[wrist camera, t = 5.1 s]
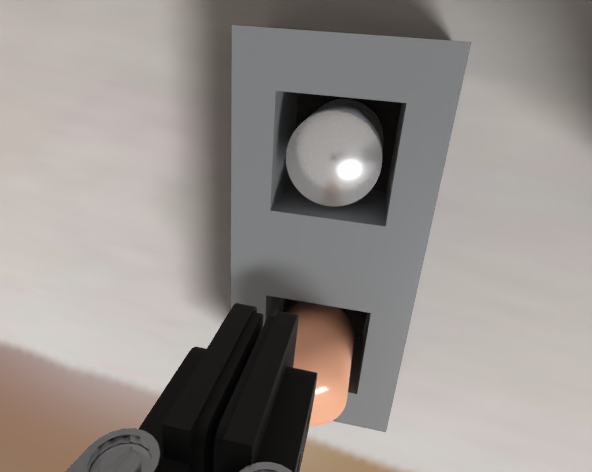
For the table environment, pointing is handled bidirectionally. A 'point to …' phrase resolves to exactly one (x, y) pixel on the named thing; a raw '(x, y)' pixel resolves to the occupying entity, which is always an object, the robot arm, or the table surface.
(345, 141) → the metal plunger
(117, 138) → the table surface
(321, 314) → the peach rounded cylinder
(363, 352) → the plunger housing
